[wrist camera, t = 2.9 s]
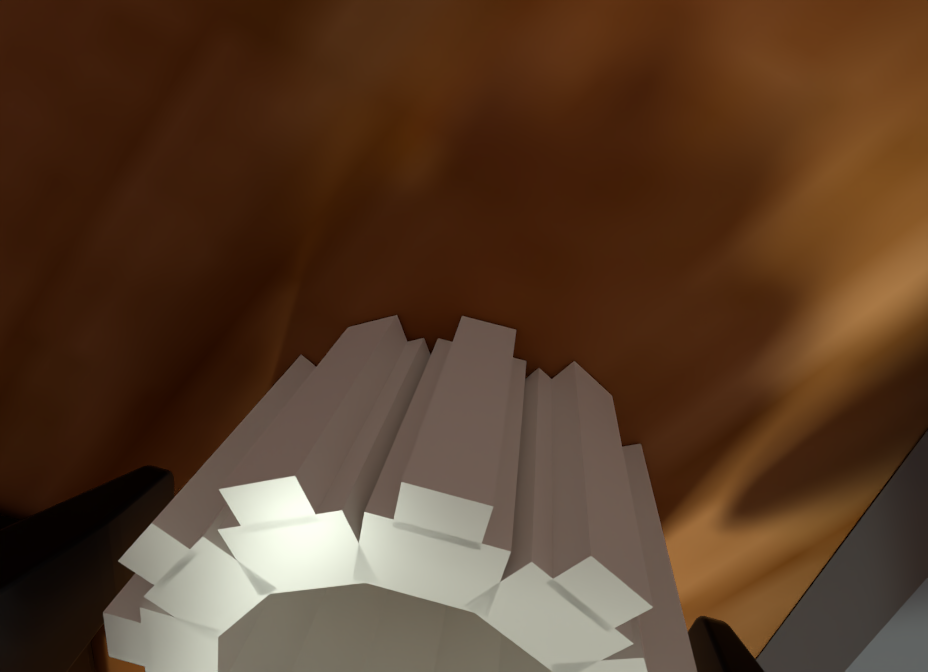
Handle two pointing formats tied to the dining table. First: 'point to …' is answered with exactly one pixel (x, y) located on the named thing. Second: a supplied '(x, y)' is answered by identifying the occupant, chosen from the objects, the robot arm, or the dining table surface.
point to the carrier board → (868, 590)
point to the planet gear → (410, 526)
